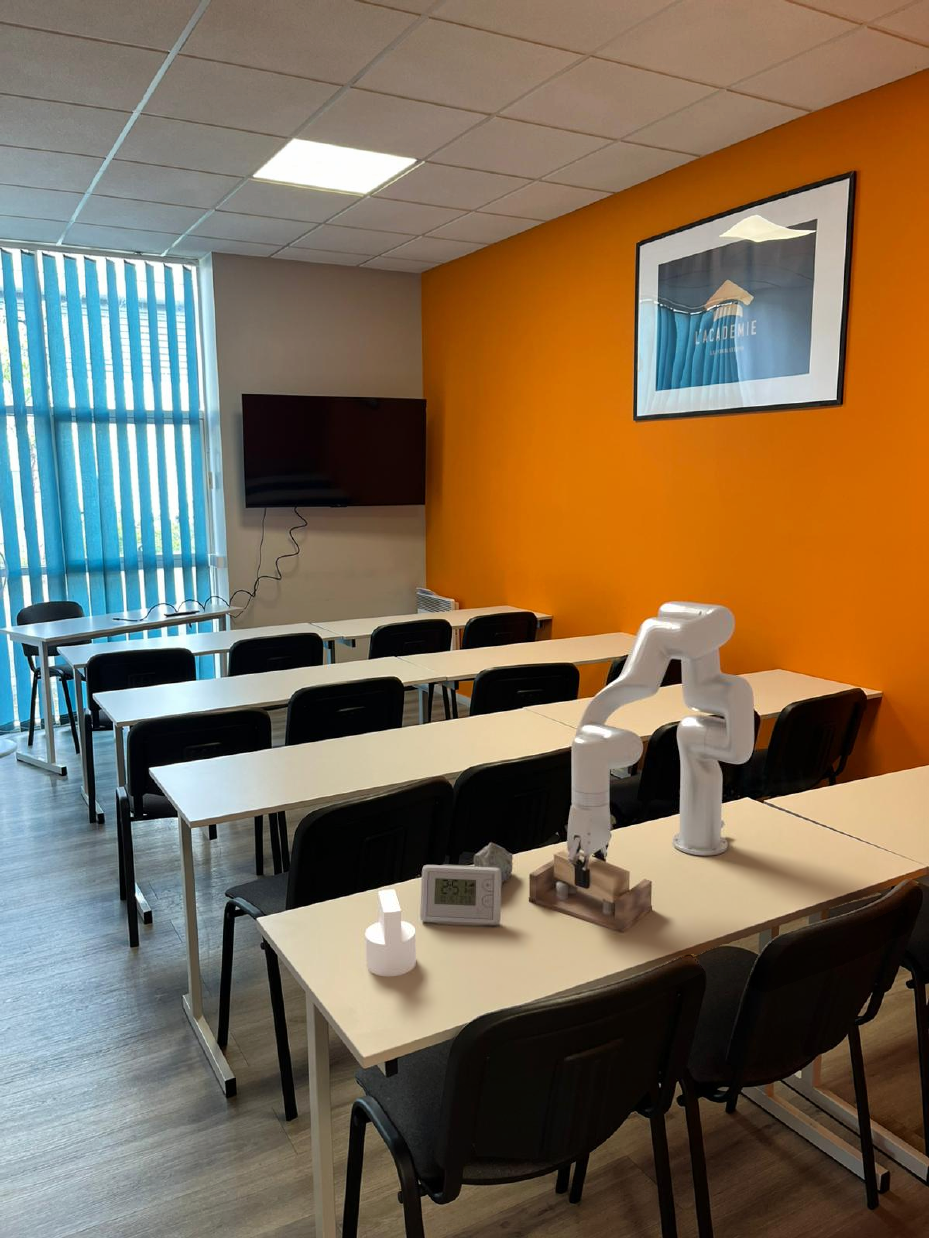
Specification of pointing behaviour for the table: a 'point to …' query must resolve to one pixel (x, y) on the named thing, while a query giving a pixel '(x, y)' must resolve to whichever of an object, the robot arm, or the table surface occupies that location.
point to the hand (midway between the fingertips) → (590, 880)
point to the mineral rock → (495, 859)
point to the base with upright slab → (390, 939)
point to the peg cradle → (589, 900)
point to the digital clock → (461, 895)
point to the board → (594, 876)
